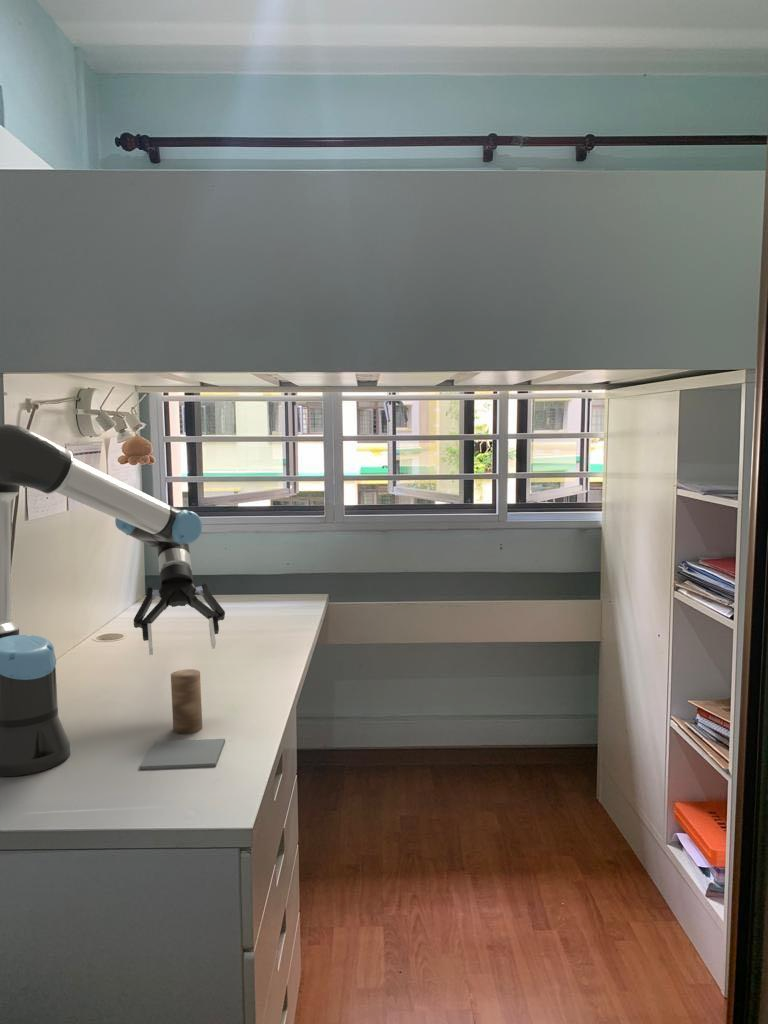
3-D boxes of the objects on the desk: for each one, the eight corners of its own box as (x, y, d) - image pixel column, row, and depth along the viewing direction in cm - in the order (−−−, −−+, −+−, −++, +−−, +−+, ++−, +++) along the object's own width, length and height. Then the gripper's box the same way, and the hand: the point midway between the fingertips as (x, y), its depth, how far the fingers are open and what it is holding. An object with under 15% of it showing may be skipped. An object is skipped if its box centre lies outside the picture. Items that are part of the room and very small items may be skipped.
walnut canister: (170, 734, 159) (167, 678, 158) (176, 724, 165) (174, 669, 164) (199, 733, 159) (197, 677, 158) (204, 723, 165) (202, 668, 164)
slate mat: (139, 769, 142) (139, 766, 142) (154, 744, 154) (154, 741, 154) (215, 766, 143) (215, 763, 142) (225, 741, 154) (225, 738, 154)
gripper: (227, 577, 190) (237, 651, 177) (121, 584, 182) (124, 663, 169) (229, 559, 184) (240, 634, 172) (120, 566, 177) (123, 645, 164)
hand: (182, 648), depth 170 cm, fingers open, 13 cm apart
